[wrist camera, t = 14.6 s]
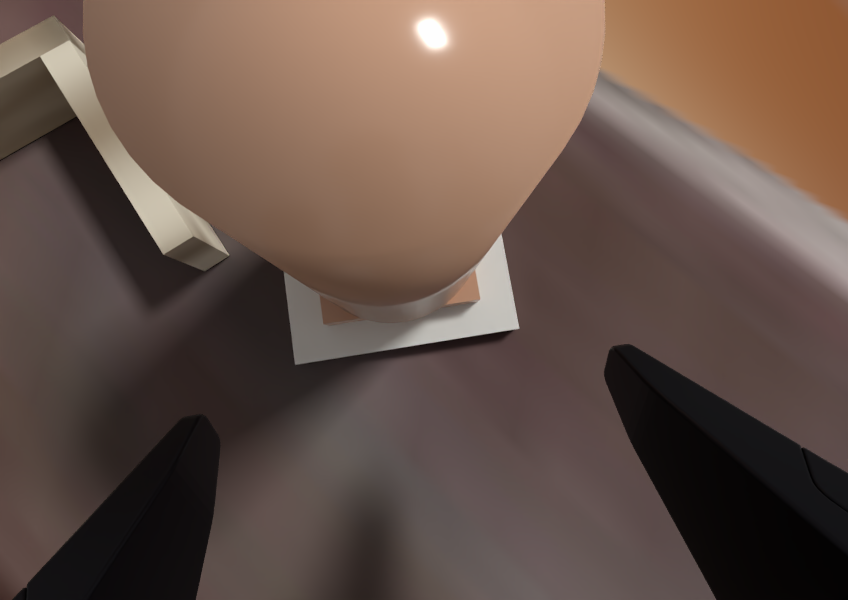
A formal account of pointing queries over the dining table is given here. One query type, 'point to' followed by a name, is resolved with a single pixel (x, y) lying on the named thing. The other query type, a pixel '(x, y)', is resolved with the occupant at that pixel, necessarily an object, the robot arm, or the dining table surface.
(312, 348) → the tile
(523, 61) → the peach tapered rounded piece
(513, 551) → the dining table surface
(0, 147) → the frame
